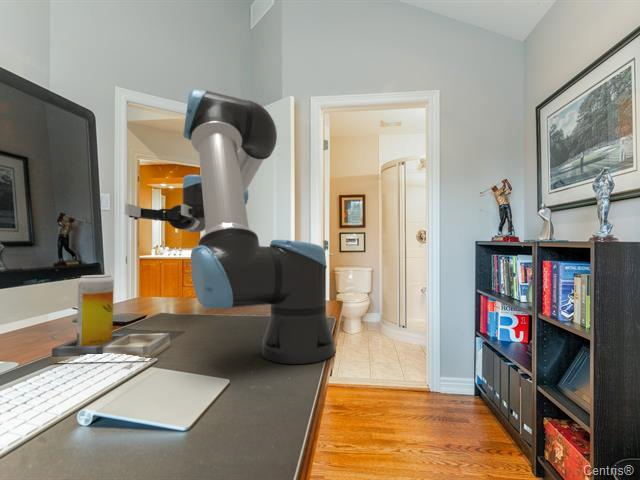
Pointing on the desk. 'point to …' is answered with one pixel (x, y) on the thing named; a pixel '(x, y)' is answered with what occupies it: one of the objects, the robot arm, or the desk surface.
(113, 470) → the desk surface
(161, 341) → the socket board
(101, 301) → the beer can
